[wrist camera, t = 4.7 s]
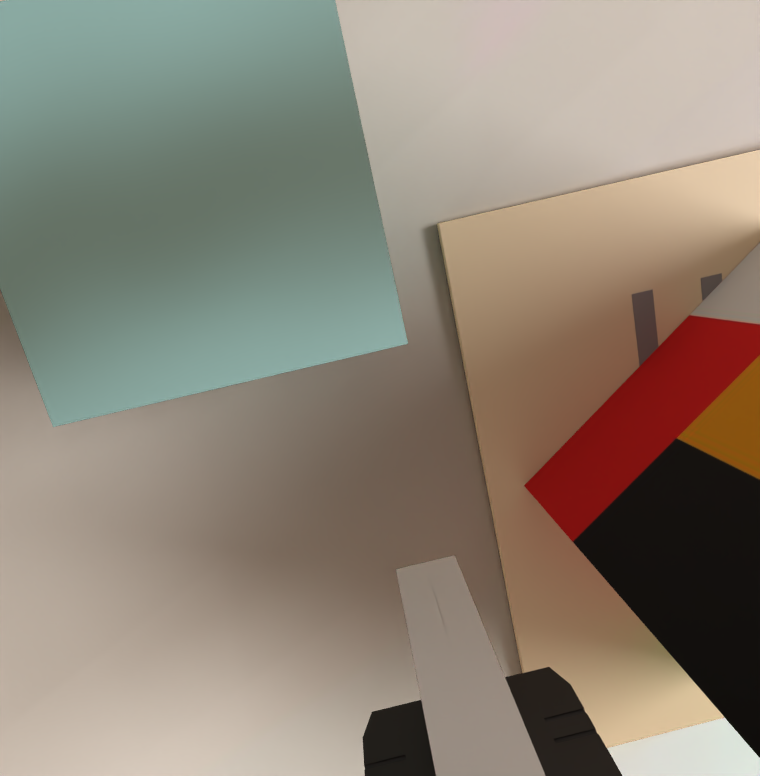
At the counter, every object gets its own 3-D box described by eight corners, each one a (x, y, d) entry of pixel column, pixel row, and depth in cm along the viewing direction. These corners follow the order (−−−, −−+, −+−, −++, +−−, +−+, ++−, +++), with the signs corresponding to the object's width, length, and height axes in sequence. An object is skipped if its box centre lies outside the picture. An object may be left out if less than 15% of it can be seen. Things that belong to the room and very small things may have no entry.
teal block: (91, 131, 13) (-102, 23, 7) (327, 79, 13) (320, -67, 8) (166, 363, 15) (53, 426, 9) (380, 314, 15) (408, 344, 9)
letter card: (436, 223, 14) (439, 222, 14) (1000, 95, 15) (1014, 91, 14) (538, 757, 18) (541, 765, 18) (975, 643, 19) (986, 649, 19)
